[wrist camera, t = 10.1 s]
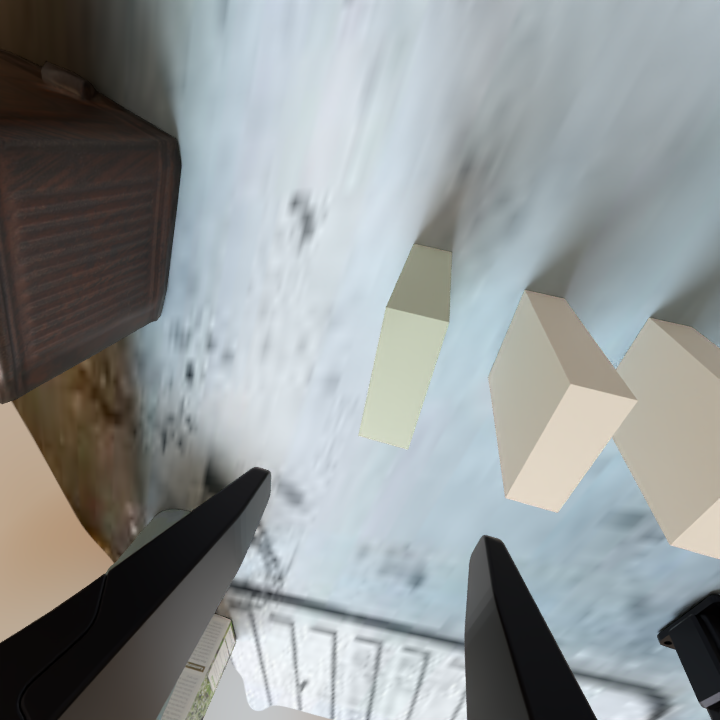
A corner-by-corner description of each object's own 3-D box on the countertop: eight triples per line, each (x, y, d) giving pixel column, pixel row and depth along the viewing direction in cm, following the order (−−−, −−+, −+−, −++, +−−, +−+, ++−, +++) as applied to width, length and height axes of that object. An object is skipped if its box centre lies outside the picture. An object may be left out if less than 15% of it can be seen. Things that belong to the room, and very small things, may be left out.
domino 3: (691, 326, 16) (860, 455, 9) (630, 412, 19) (727, 561, 12) (649, 317, 16) (784, 437, 10) (594, 403, 19) (670, 545, 12)
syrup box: (187, 605, 43) (81, 786, 31) (233, 618, 42) (142, 812, 30) (196, 628, 46) (102, 802, 34) (239, 641, 45) (158, 826, 33)
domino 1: (451, 252, 17) (449, 322, 10) (424, 344, 19) (407, 449, 13) (413, 243, 17) (386, 307, 10) (391, 336, 20) (358, 435, 13)
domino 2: (564, 298, 17) (637, 400, 10) (522, 385, 19) (557, 512, 13) (524, 289, 17) (570, 384, 10) (488, 377, 20) (505, 497, 13)
